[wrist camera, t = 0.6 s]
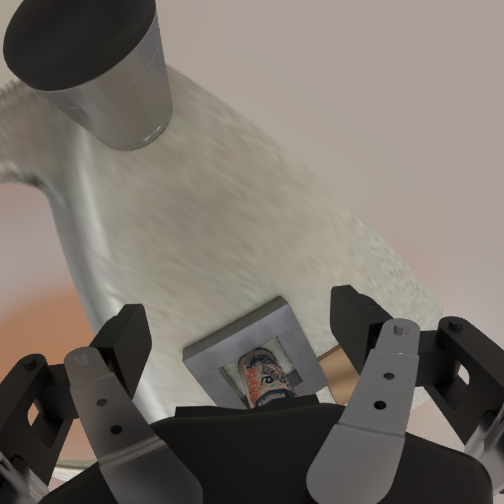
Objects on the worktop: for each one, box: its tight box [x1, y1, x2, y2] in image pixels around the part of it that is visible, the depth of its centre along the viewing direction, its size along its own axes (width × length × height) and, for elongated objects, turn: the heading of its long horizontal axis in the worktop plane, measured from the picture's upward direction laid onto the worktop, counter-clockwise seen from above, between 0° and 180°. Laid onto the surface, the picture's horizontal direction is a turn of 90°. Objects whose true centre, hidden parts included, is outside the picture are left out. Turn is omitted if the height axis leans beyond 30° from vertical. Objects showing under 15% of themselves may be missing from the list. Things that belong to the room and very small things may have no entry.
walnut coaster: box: [317, 345, 360, 405], centre depth 37 cm, size 10×10×1 cm
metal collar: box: [182, 296, 330, 409], centre depth 33 cm, size 13×13×3 cm
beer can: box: [238, 349, 298, 408], centre depth 28 cm, size 5×5×12 cm
